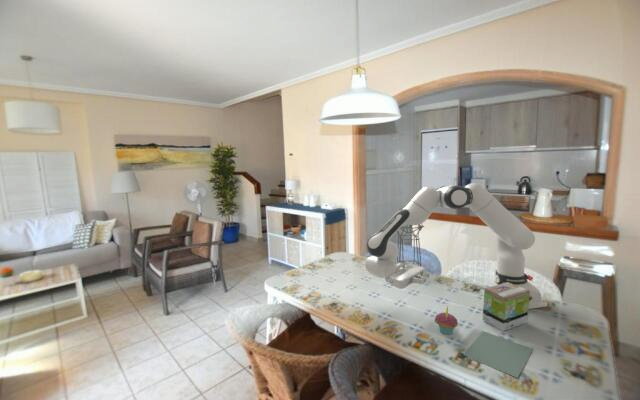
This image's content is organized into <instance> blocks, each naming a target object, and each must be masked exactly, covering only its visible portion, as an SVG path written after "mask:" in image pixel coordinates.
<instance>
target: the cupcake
mask: <svg viewBox="0 0 640 400" xmlns="http://www.w3.org/2000/svg"><path fill="white" fill-rule="evenodd" d="M445 309H446V310H445V311H446V312H440V313H437V315H435V317H434V323H436V324H437V325H438V328H439V331H440V333H441V334H445V335H452V334H453V332H454V330H455V328H457V327H458V324H459V321H458V319H457V318H456V317H455V316H454V315H453V314H451V313H449V306H448V305H447V307H446V308H445Z"/></svg>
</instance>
